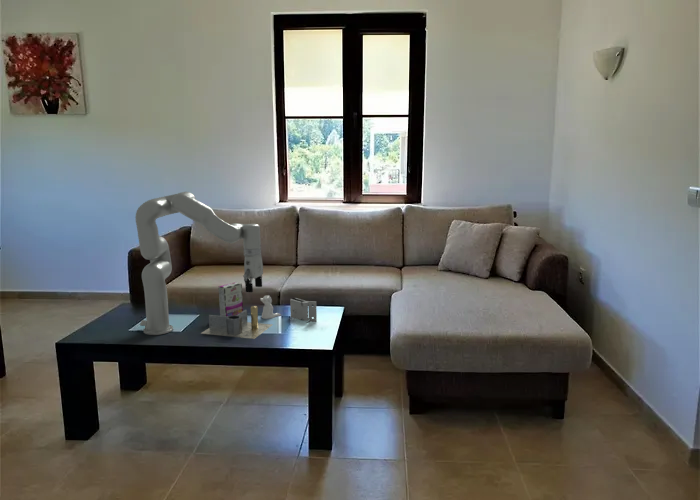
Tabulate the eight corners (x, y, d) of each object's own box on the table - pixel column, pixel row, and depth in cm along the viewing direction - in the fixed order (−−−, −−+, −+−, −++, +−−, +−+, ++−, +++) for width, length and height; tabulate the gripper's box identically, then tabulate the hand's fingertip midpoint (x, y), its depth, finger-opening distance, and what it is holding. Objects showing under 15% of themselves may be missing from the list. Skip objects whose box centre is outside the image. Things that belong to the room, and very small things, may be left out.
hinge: (317, 321, 259) (317, 301, 257) (310, 324, 255) (310, 304, 253) (293, 317, 266) (293, 297, 264) (287, 320, 262) (286, 300, 260)
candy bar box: (236, 313, 272) (235, 281, 269) (243, 315, 269) (242, 283, 266) (219, 318, 264) (217, 285, 261) (226, 320, 261) (224, 287, 258)
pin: (250, 328, 245) (249, 307, 243) (253, 326, 248) (252, 305, 246) (256, 329, 244) (255, 308, 242) (259, 327, 247) (258, 306, 245)
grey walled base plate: (200, 335, 239) (199, 318, 238) (222, 322, 258) (221, 305, 257) (254, 341, 232) (253, 323, 231) (273, 327, 251) (272, 309, 250)
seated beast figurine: (281, 317, 266) (280, 293, 264) (274, 322, 258) (274, 298, 256) (263, 315, 269) (262, 292, 267) (256, 320, 261) (255, 296, 258)
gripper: (251, 255, 230) (253, 294, 233) (268, 248, 247) (269, 285, 250) (235, 255, 232) (237, 293, 235) (253, 248, 249) (254, 284, 252)
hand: (254, 289), depth 243 cm, fingers open, 9 cm apart
